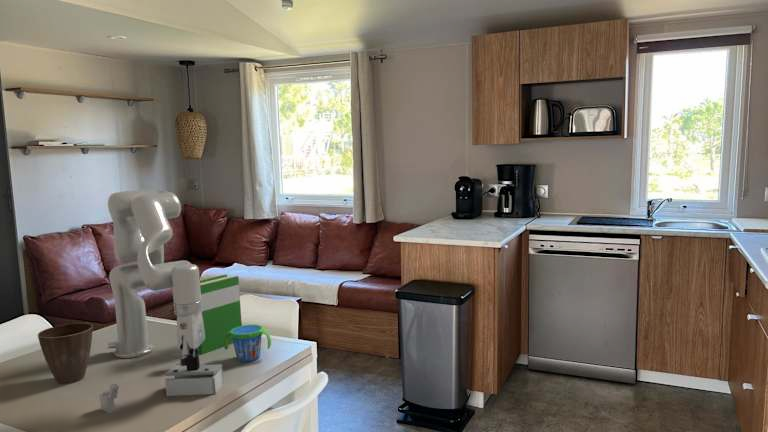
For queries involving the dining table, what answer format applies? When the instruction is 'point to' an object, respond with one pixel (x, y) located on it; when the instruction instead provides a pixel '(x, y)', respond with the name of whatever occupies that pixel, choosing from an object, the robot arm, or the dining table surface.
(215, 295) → the hardback book
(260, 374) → the dining table surface
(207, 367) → the cover
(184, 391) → the open box
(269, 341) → the snack cup
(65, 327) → the plant pot
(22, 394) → the dining table surface
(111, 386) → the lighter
